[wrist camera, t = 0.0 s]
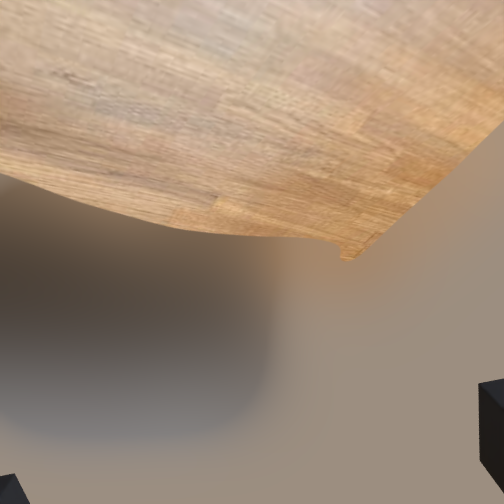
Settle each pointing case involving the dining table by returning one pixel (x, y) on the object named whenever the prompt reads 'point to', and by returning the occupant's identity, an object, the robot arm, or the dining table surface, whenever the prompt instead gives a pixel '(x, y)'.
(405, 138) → the dining table surface
